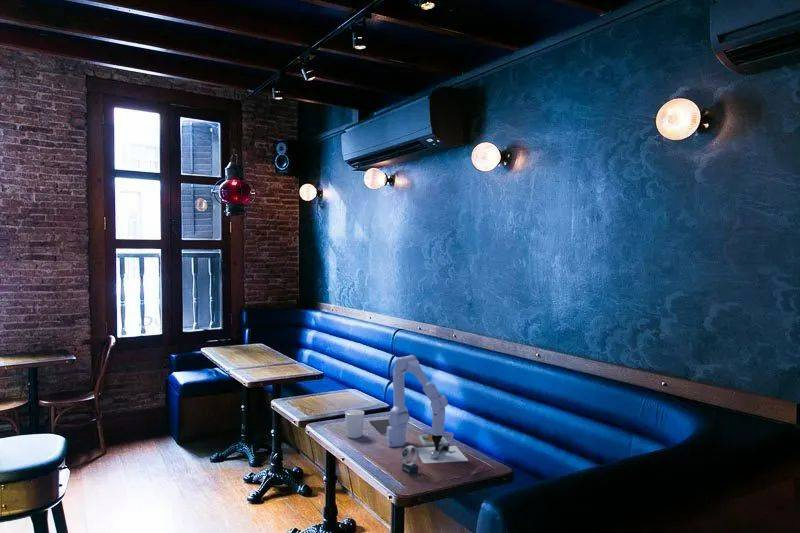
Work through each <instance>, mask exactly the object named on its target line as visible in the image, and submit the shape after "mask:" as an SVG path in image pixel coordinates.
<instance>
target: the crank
mask: <svg viewBox="0 0 800 533" xmlns="http://www.w3.org/2000/svg"><path fill="white" fill-rule="evenodd" d="M449 446H450V445H449V444H448V445H444V444H439V446H438V449H436V450H433V451H431V452H430V458H432V459H438V458H439V454H440V453H441V452H442V451H443V450H446V451H449Z"/></svg>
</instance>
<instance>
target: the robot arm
mask: <svg viewBox="0 0 800 533" xmlns="http://www.w3.org/2000/svg"><path fill="white" fill-rule="evenodd" d="M406 373H409V374H413V375H414V376H415V378H416V379H417V380H418V381H419V383H420V384H421V385H422V391H423V392H424V393H425V395H426V397H427V398H428V399H429V401H430V402H429V403H430V407H431V409H432V410H431V411H432V416H431V417H432V421H431V428H422V430H421V435H428V434H430V435H433V436H432V440H433V442H434V445H435V446H434V447H435V450H436V449H438V446H439V443H440V442H442V440H441V439H442V437H444V438H450V439H454V432H450V431H447V430H445V420H446V407H447V406H448V405H449V400H448V399H447V396H445V395H444V394H442V393H440V391H439V389H438V388H437V386H436V384H435V383H433V382H430V380H429V379H428V378H427V376H426V375H425V373H424V371H423V369H422V367H421V366H420V361H419V360H418V359H417V357H416V356H415V355H413V354H410V355H406V356H400V357H397V359H396V360H395V361H394V366H393V369H392V391H393V400H392V401H393V407H391V410H390V411H389V416H388V419H389V424H390V425H391V426H387V435H386V440H385V442H386V444H387V446H388V447H389V448H390V447H391V448H393V447H402V446H404V445H405V444H407V425H408V423H409V421H410V414H409V412H408V411H409V409H408V407H406V405H405V402H406V400H405V399H406V397H405V395H406V394H405V374H406Z"/></svg>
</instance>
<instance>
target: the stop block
mask: <svg viewBox="0 0 800 533" xmlns="http://www.w3.org/2000/svg"><path fill="white" fill-rule="evenodd" d="M427 435H428V438H427V443H429V442H433V440H432V436H433V435H430V434H427Z"/></svg>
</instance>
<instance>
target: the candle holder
mask: <svg viewBox="0 0 800 533" xmlns="http://www.w3.org/2000/svg"><path fill="white" fill-rule="evenodd" d="M344 415H345V416H344V418H345V419H344V420H345V422H344V423H345V436H346V438H350V439H359V438H362V437H363V430H364V422H365V421H364V417H365V411H363V410H361V409H356V408H354V409H347V410H346V411H344Z"/></svg>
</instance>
